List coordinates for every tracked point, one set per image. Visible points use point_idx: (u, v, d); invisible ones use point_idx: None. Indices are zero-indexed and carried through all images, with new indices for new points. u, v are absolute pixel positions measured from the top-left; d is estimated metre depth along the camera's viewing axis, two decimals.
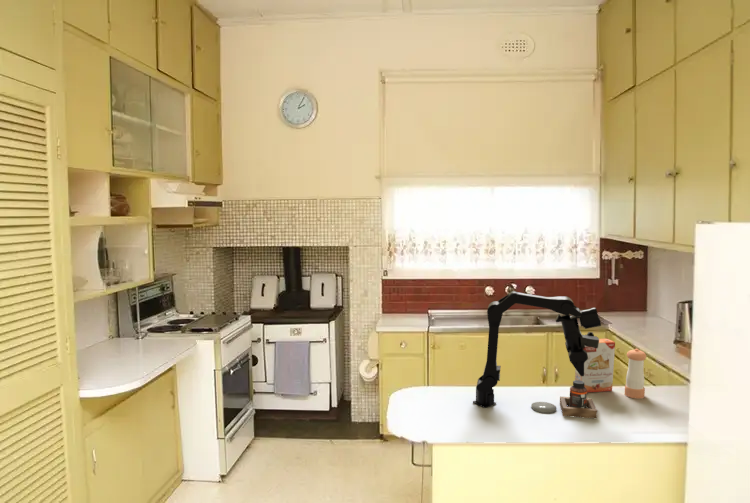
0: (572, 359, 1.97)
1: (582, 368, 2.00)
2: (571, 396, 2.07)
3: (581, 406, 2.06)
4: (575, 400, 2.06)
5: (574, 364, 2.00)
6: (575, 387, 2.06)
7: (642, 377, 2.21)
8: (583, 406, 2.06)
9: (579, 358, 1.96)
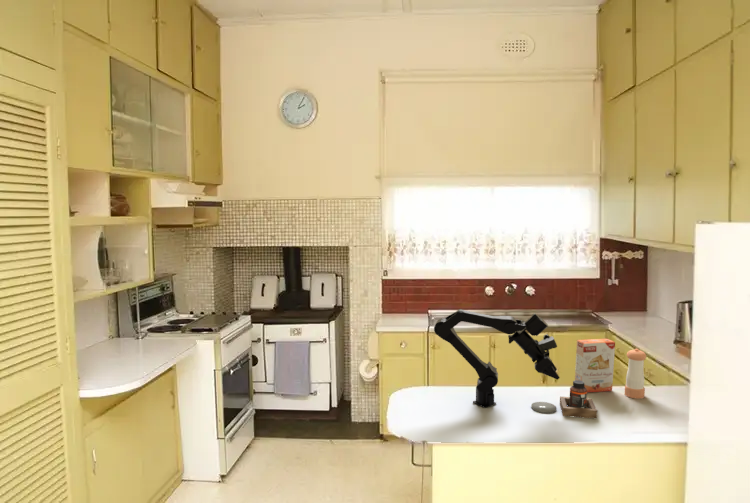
0: (539, 370, 2.01)
1: (553, 372, 2.03)
2: (571, 396, 2.07)
3: (581, 406, 2.06)
4: (575, 400, 2.06)
5: (544, 372, 2.03)
6: (575, 387, 2.06)
7: (642, 377, 2.21)
8: (583, 406, 2.06)
9: (544, 366, 2.00)
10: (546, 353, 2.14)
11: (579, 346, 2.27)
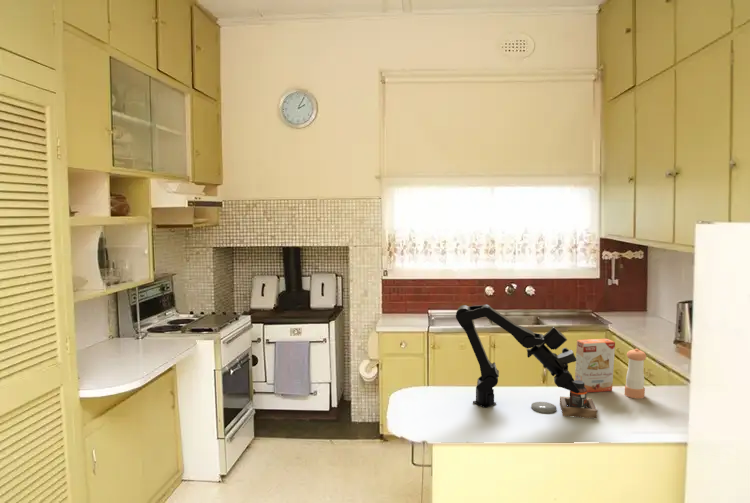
0: (559, 384, 2.00)
1: (573, 386, 2.02)
2: (571, 396, 2.07)
3: (581, 406, 2.06)
4: (575, 400, 2.06)
5: (564, 386, 2.02)
6: None
7: (642, 377, 2.21)
8: (583, 406, 2.06)
9: (564, 380, 1.99)
10: (565, 366, 2.13)
11: (579, 346, 2.27)
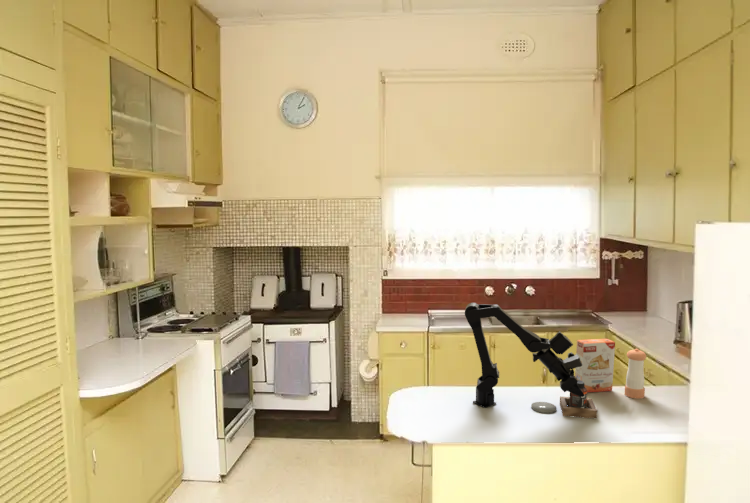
0: (565, 389, 2.00)
1: (579, 389, 2.04)
2: (571, 396, 2.07)
3: (581, 406, 2.06)
4: (575, 399, 2.06)
5: (570, 390, 2.04)
6: None
7: (642, 377, 2.21)
8: (583, 406, 2.06)
9: (570, 385, 1.99)
10: (571, 372, 2.12)
11: (579, 346, 2.27)
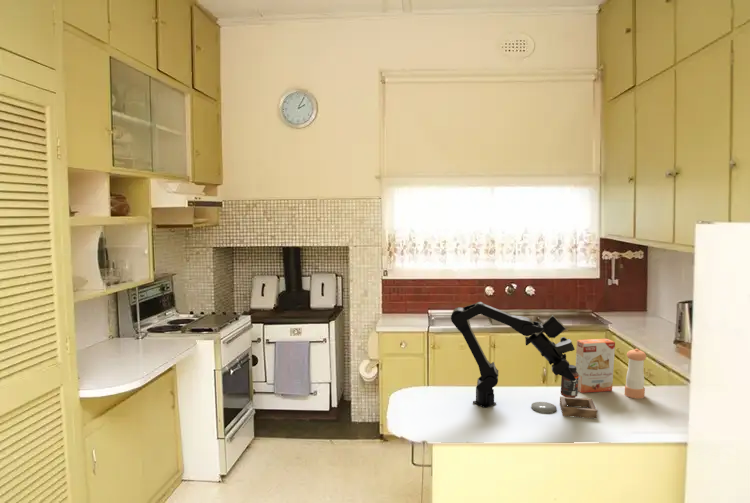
0: (556, 372, 2.00)
1: (570, 373, 2.04)
2: (563, 380, 2.07)
3: (572, 390, 2.06)
4: (567, 384, 2.06)
5: (561, 374, 2.04)
6: None
7: (642, 377, 2.21)
8: (574, 390, 2.06)
9: (562, 368, 1.99)
10: (563, 357, 2.12)
11: (579, 346, 2.27)
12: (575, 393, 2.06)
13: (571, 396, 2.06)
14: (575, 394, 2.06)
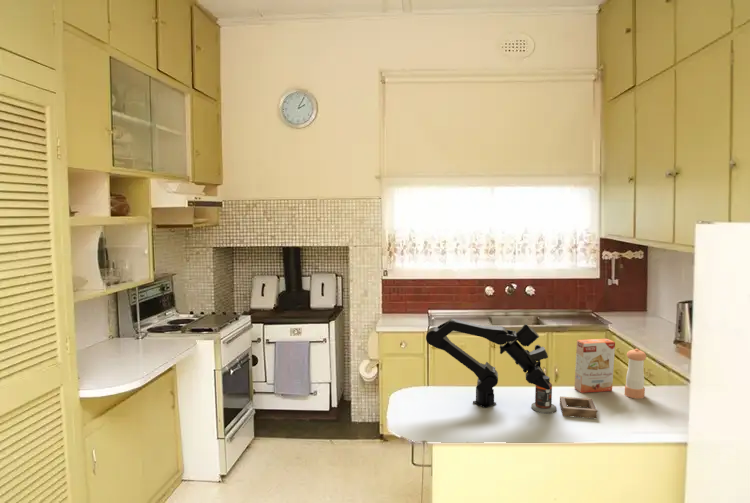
0: (530, 380, 2.02)
1: (544, 382, 2.05)
2: (536, 391, 2.10)
3: (546, 401, 2.08)
4: (540, 395, 2.08)
5: (535, 383, 2.05)
6: None
7: (642, 377, 2.21)
8: (548, 401, 2.08)
9: (535, 376, 2.01)
10: (537, 363, 2.15)
11: (579, 346, 2.27)
12: (549, 404, 2.09)
13: (545, 407, 2.08)
14: (549, 405, 2.09)
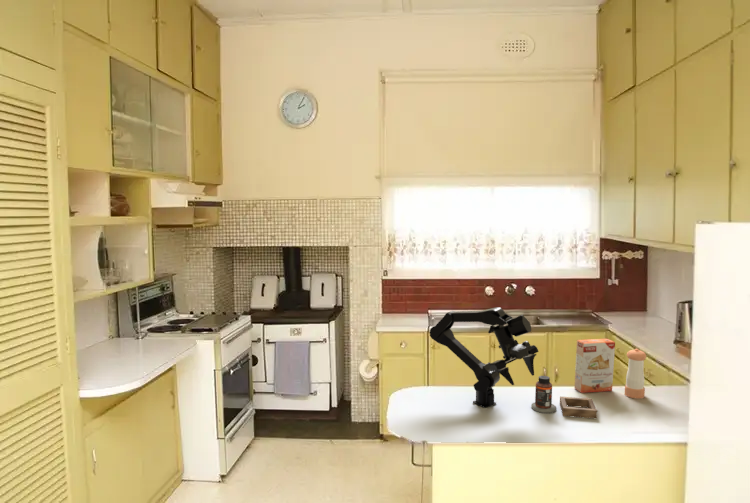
0: (491, 369, 2.06)
1: (508, 378, 2.04)
2: (536, 391, 2.10)
3: (546, 401, 2.08)
4: (540, 395, 2.08)
5: (501, 373, 2.07)
6: (541, 382, 2.09)
7: (642, 377, 2.21)
8: (548, 401, 2.08)
9: (494, 369, 2.04)
10: (529, 356, 2.08)
11: (579, 346, 2.27)
12: (549, 404, 2.09)
13: (545, 407, 2.08)
14: (549, 405, 2.09)
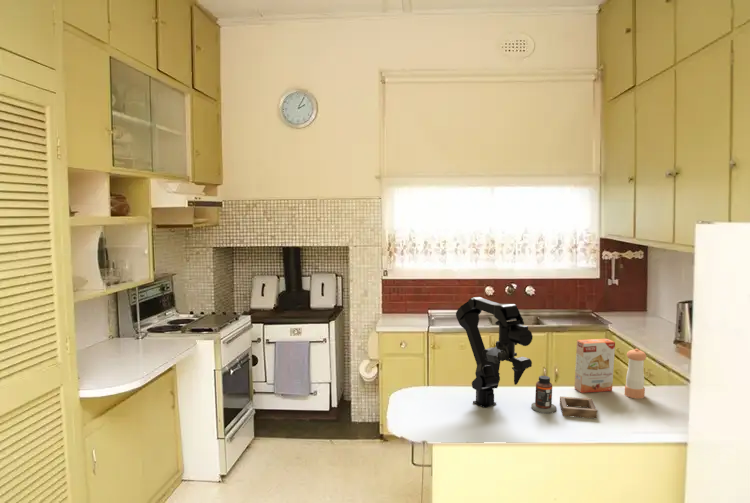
0: None
1: None
2: (537, 391, 2.10)
3: (546, 401, 2.08)
4: (540, 395, 2.08)
5: None
6: (541, 382, 2.09)
7: (642, 377, 2.21)
8: (548, 401, 2.08)
9: None
10: None
11: (579, 346, 2.27)
12: (549, 404, 2.09)
13: (545, 407, 2.08)
14: (549, 405, 2.09)
